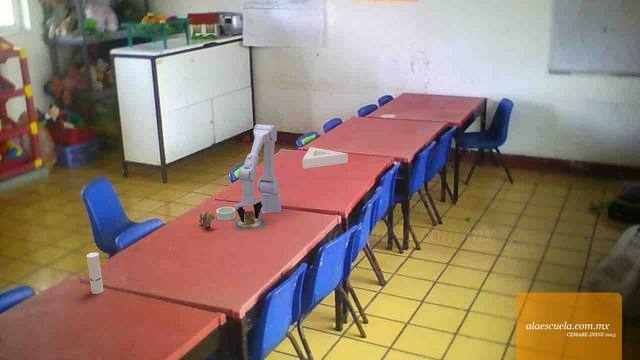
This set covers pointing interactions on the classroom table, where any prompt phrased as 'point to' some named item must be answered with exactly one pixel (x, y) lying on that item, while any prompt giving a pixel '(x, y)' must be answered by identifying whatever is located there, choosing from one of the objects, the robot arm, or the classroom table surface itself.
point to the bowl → (225, 213)
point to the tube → (95, 273)
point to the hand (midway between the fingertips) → (249, 220)
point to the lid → (249, 220)
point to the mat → (250, 228)
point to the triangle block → (323, 158)
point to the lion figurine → (206, 219)
